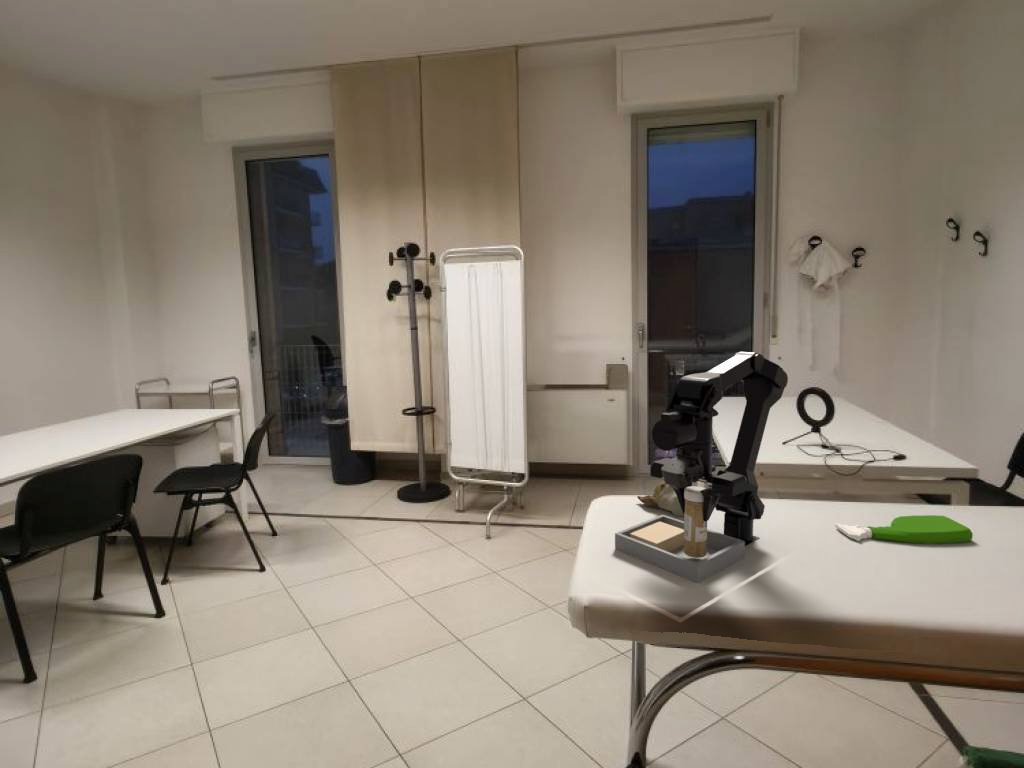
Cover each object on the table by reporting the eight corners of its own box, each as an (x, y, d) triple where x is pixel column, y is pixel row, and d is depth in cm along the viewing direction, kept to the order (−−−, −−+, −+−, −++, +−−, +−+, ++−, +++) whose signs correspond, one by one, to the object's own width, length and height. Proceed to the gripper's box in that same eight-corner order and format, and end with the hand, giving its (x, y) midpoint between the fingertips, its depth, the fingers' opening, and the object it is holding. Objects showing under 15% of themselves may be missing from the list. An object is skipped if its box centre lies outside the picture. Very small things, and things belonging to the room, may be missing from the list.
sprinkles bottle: (707, 559, 114) (708, 493, 112) (682, 557, 115) (684, 492, 113) (706, 549, 118) (708, 486, 116) (683, 547, 119) (684, 484, 117)
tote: (662, 531, 132) (662, 514, 132) (744, 560, 117) (744, 541, 116) (615, 551, 123) (614, 533, 122) (697, 585, 107) (697, 565, 106)
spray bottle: (977, 545, 121) (858, 549, 122) (940, 525, 132) (830, 529, 133) (978, 531, 121) (858, 535, 121) (941, 512, 132) (831, 516, 132)
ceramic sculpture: (672, 487, 135) (634, 475, 149) (673, 524, 136) (635, 508, 150) (708, 481, 140) (667, 469, 153) (709, 516, 140) (668, 501, 154)
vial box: (659, 534, 129) (659, 521, 129) (686, 543, 124) (686, 530, 123) (630, 547, 123) (629, 533, 123) (656, 557, 118) (656, 543, 117)
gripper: (632, 440, 115) (632, 515, 118) (715, 458, 101) (714, 543, 103) (666, 430, 122) (666, 502, 124) (750, 446, 108) (748, 526, 110)
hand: (695, 517), depth 115 cm, fingers closed on sprinkles bottle, 4 cm apart
